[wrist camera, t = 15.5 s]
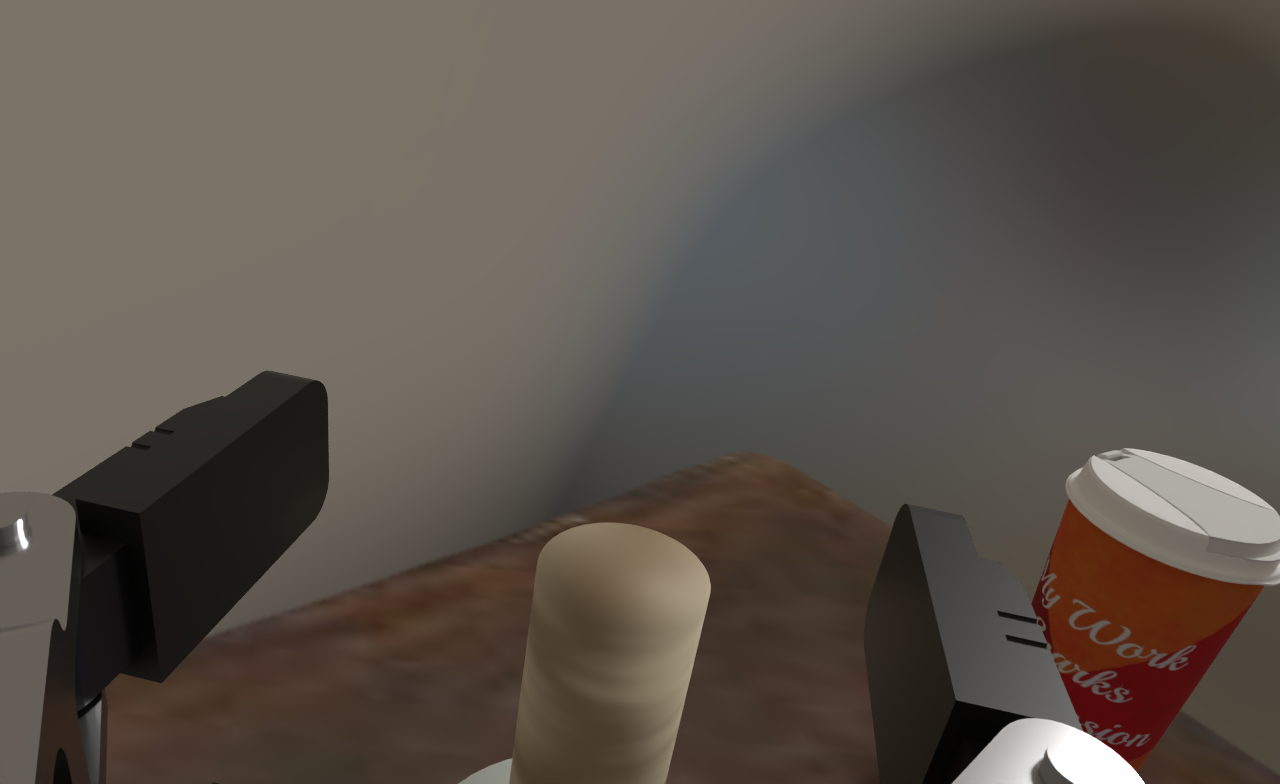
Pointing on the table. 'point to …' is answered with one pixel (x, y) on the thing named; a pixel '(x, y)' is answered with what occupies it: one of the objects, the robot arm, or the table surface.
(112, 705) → the table surface
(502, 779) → the white plate
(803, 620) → the table surface
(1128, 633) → the coffee cup
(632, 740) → the wooden cylinder
